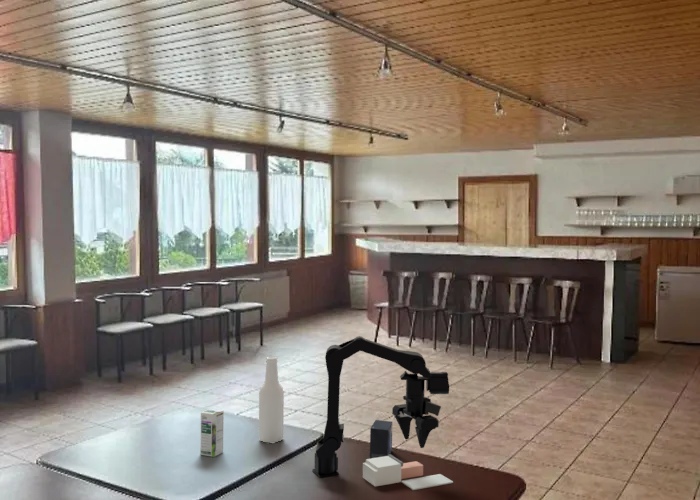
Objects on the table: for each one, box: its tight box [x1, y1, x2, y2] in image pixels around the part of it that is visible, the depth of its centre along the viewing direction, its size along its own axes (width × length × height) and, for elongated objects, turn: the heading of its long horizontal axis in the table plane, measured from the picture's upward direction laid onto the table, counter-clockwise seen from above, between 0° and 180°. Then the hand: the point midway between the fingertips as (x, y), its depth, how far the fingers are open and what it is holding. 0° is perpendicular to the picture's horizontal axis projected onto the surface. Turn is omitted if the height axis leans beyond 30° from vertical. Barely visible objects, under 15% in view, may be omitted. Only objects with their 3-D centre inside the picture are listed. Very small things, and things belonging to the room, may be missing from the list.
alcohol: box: [258, 356, 285, 443], centre depth 238 cm, size 9×9×30 cm
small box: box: [368, 419, 393, 459], centre depth 224 cm, size 11×6×10 cm, turn 168°
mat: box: [400, 473, 454, 491], centre depth 200 cm, size 14×7×1 cm, turn 115°
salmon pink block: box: [401, 460, 424, 480], centre depth 204 cm, size 13×4×4 cm, turn 115°
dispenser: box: [362, 453, 404, 487], centre depth 202 cm, size 10×8×6 cm
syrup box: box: [199, 408, 225, 458], centre depth 223 cm, size 6×6×14 cm
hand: (414, 443), depth 206 cm, fingers open, 9 cm apart
